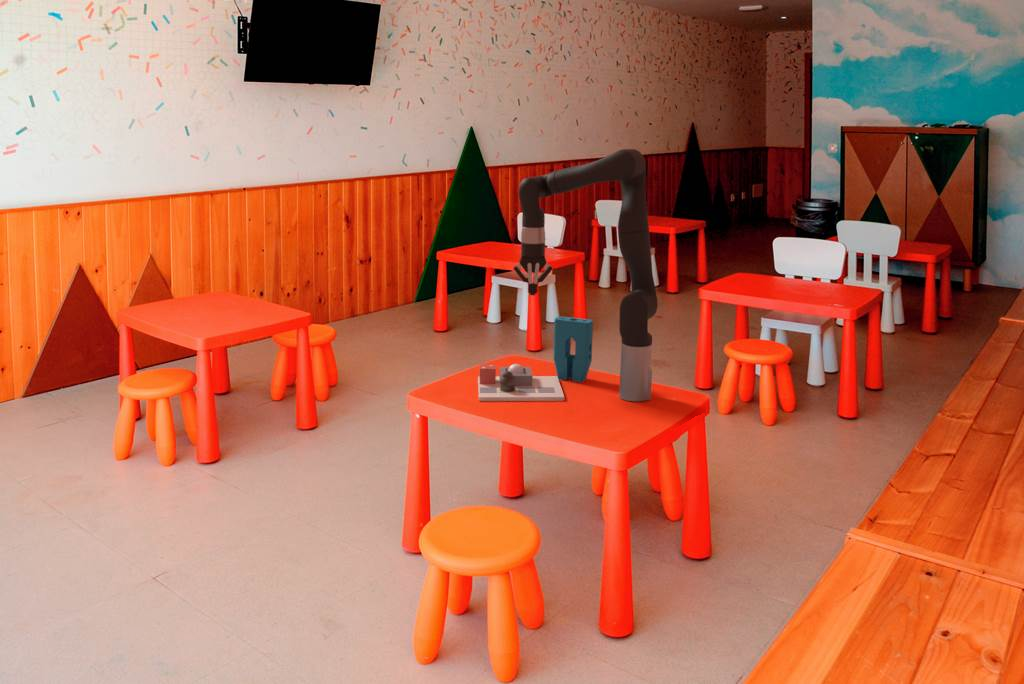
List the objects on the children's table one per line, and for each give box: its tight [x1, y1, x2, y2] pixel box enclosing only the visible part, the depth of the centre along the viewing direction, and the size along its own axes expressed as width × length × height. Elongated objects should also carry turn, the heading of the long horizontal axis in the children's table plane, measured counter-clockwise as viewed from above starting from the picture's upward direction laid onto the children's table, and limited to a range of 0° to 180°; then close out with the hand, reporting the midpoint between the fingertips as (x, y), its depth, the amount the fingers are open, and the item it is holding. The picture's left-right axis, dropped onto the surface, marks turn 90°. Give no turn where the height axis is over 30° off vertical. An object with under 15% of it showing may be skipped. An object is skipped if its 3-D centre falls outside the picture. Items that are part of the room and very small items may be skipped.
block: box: [553, 316, 594, 383], centre depth 296 cm, size 12×5×20 cm, turn 66°
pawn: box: [500, 371, 515, 392], centre depth 281 cm, size 4×4×6 cm
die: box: [479, 364, 497, 384], centre depth 289 cm, size 5×5×5 cm
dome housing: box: [498, 366, 533, 386], centre depth 290 cm, size 10×10×4 cm
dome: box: [508, 363, 524, 374], centre depth 290 cm, size 6×6×5 cm
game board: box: [477, 375, 565, 402], centre depth 286 cm, size 26×22×1 cm
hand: (532, 294), depth 290 cm, fingers closed
